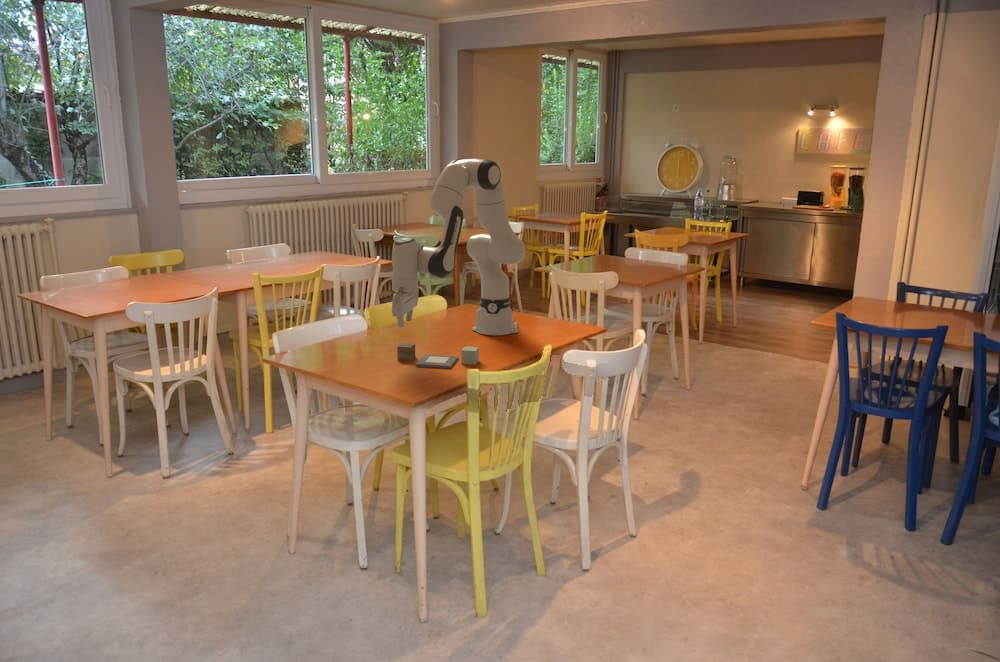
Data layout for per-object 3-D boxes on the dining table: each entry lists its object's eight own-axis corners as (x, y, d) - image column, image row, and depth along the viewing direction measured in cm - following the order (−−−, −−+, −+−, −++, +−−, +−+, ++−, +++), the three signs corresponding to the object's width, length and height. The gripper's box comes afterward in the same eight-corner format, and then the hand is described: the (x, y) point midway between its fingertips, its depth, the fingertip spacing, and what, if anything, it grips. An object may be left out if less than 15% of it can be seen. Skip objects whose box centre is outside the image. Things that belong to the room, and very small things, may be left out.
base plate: (425, 356, 279) (425, 353, 279) (458, 358, 277) (458, 355, 277) (416, 366, 267) (416, 363, 267) (450, 368, 265) (450, 365, 265)
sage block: (464, 360, 276) (464, 346, 275) (478, 360, 275) (478, 347, 274) (461, 364, 271) (461, 350, 270) (475, 364, 271) (475, 351, 269)
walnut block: (401, 356, 280) (401, 342, 278) (415, 356, 279) (415, 343, 278) (397, 360, 275) (397, 346, 274) (411, 361, 274) (411, 347, 273)
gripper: (405, 291, 260) (405, 331, 263) (421, 280, 279) (421, 318, 283) (386, 290, 261) (387, 330, 264) (404, 279, 280) (404, 317, 284)
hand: (405, 324), depth 273 cm, fingers open, 8 cm apart
